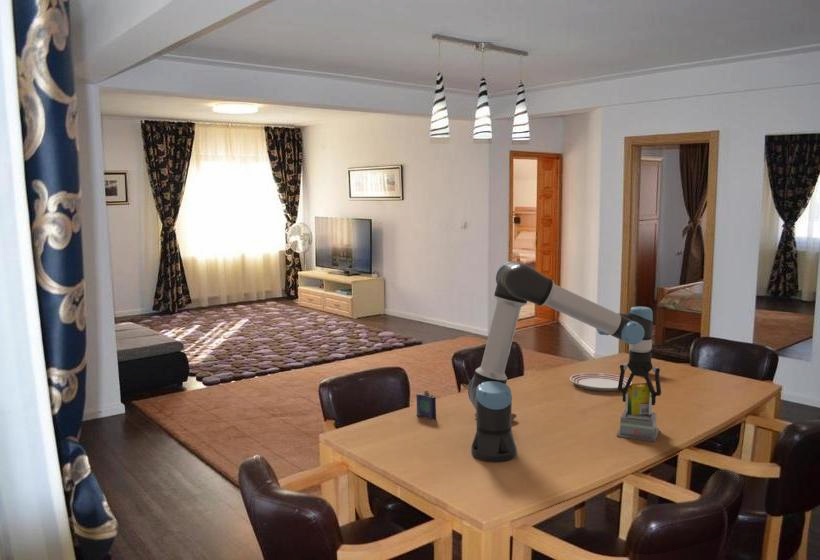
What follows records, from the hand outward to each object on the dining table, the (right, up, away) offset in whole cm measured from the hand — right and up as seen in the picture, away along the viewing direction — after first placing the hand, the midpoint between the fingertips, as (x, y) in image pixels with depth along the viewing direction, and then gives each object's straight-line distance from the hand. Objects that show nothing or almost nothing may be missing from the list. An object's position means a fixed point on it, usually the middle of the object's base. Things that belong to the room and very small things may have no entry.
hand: (638, 411), depth 233 cm
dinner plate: (+5, -1, +62) cm, 62 cm away
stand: (0, -8, +1) cm, 8 cm away
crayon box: (0, -1, 0) cm, 1 cm away
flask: (-76, -7, +23) cm, 80 cm away
